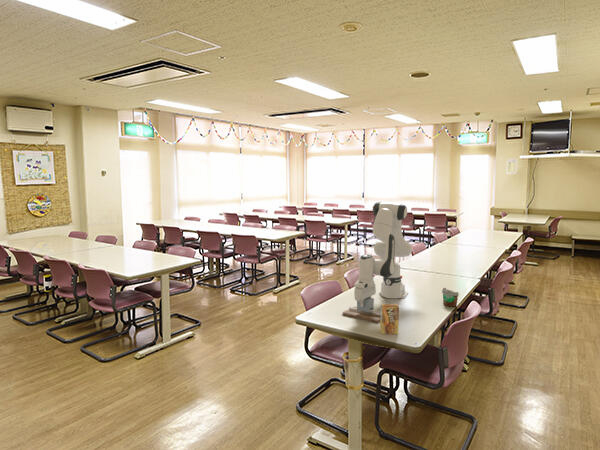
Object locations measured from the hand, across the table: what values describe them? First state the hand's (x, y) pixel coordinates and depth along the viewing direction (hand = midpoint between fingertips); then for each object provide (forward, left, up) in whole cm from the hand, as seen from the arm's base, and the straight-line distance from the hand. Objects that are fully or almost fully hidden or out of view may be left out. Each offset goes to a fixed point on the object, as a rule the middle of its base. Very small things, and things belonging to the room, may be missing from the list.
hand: (365, 304), depth 233 cm
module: (0, 0, -3) cm, 3 cm away
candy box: (+16, +23, -7) cm, 29 cm away
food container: (-51, +33, -7) cm, 61 cm away
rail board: (0, 0, -7) cm, 7 cm away
